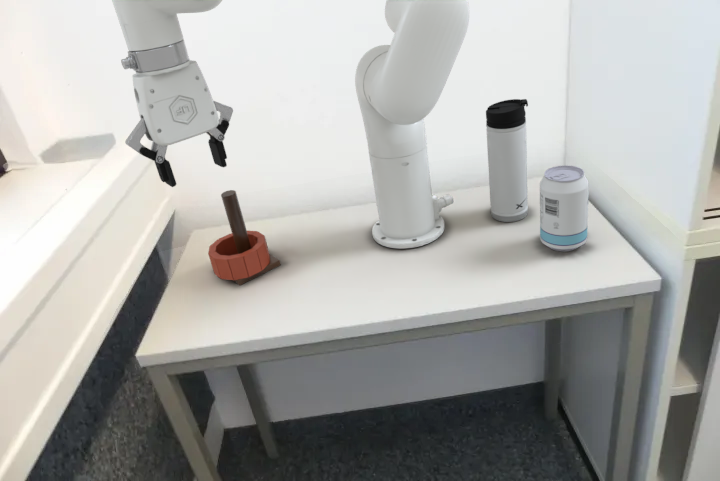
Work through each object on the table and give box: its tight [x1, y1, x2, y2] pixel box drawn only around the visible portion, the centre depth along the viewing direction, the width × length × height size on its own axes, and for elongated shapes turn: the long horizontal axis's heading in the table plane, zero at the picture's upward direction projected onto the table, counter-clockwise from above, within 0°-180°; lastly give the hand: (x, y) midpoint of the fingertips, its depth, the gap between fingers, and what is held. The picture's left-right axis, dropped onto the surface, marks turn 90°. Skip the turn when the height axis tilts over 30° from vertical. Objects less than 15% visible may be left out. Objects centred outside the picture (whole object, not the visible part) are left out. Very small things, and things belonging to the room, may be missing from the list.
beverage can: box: [539, 164, 590, 252], centre depth 91 cm, size 7×7×12 cm
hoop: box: [207, 230, 271, 281], centre depth 101 cm, size 9×9×4 cm
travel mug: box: [485, 98, 529, 223], centre depth 100 cm, size 6×7×20 cm
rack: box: [220, 189, 282, 286], centre depth 99 cm, size 8×8×14 cm
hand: (196, 174), depth 91 cm, fingers open, 7 cm apart
